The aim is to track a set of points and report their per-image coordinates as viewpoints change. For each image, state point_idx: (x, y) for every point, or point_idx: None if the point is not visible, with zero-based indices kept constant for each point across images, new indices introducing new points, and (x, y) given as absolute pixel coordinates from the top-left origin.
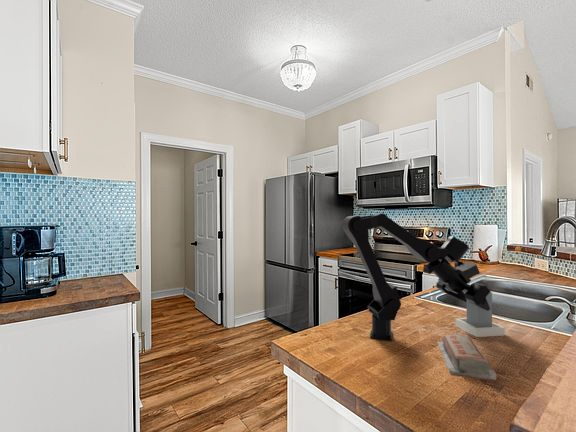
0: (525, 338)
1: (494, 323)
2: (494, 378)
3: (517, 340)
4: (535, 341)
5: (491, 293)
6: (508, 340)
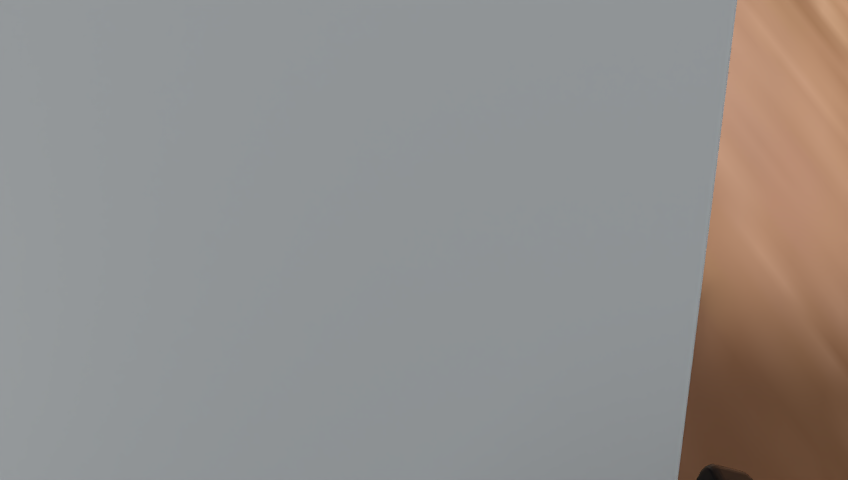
0: (735, 143)
1: None
2: None
3: (760, 290)
4: (830, 133)
5: (717, 8)
6: (733, 398)
